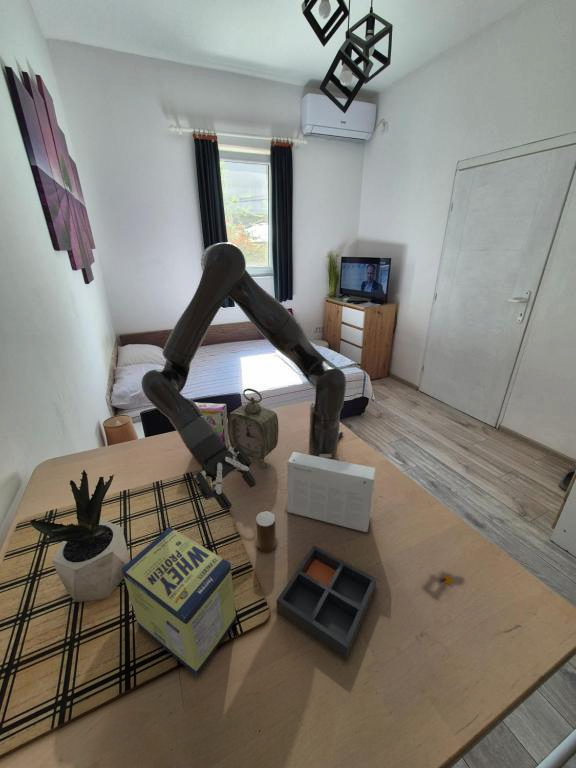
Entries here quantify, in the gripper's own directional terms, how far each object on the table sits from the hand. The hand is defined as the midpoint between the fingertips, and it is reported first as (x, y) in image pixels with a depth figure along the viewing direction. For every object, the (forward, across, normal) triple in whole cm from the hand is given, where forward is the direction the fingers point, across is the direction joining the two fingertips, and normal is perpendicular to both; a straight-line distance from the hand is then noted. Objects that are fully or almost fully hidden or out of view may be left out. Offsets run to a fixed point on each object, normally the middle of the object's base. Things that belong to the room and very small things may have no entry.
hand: (241, 496), depth 75 cm
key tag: (+39, +12, -23) cm, 47 cm away
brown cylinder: (+12, 0, +3) cm, 13 cm away
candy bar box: (-15, +21, +31) cm, 40 cm away
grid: (+25, -4, -10) cm, 27 cm away
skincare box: (+18, +16, -3) cm, 24 cm away
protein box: (+11, -22, +4) cm, 25 cm away
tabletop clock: (-4, +25, +19) cm, 32 cm away
